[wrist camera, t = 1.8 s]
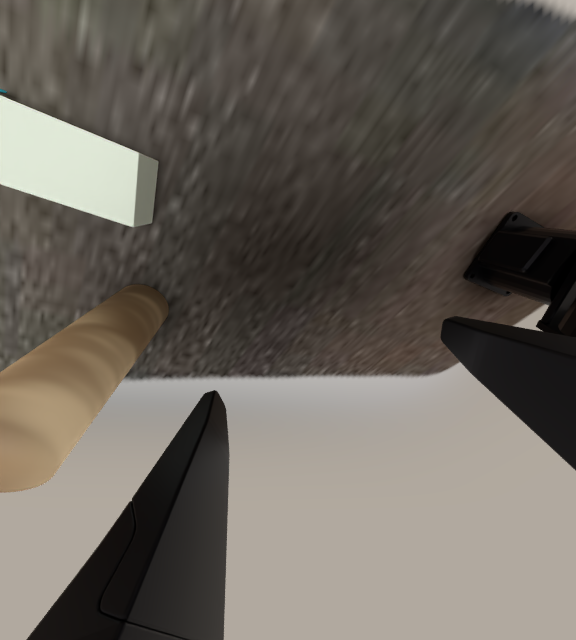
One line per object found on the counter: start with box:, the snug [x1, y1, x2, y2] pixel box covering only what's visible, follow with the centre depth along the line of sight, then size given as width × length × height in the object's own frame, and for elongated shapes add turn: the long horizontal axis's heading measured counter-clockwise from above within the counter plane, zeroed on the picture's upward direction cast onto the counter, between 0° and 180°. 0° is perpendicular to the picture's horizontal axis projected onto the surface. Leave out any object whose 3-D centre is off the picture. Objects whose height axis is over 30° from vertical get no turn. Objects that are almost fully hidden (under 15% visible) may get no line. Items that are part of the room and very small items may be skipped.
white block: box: [0, 96, 159, 227], centre depth 13 cm, size 8×4×3 cm, turn 69°
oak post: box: [0, 284, 169, 492], centre depth 13 cm, size 4×4×13 cm
